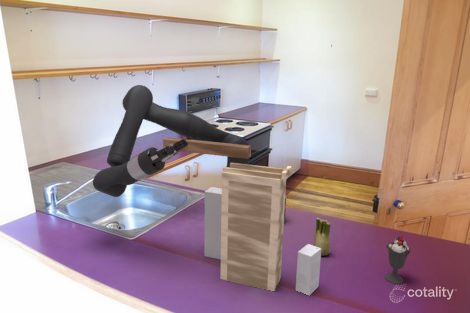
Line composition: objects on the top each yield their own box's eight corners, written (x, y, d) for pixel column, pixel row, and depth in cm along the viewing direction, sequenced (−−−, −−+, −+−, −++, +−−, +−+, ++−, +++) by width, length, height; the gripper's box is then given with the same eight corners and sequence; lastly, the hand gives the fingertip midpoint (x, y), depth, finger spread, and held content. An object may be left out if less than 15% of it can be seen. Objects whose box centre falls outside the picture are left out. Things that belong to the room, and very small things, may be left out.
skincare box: (305, 281, 102) (308, 243, 99) (318, 287, 99) (322, 248, 97) (294, 290, 97) (297, 251, 95) (308, 297, 95) (311, 256, 92)
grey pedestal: (211, 249, 119) (211, 186, 114) (233, 253, 116) (234, 190, 111) (204, 256, 115) (204, 191, 110) (227, 261, 112) (228, 195, 107)
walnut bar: (168, 147, 106) (168, 137, 105) (250, 156, 97) (251, 145, 96) (163, 149, 103) (162, 139, 103) (247, 158, 94) (247, 147, 94)
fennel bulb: (311, 249, 121) (314, 216, 118) (325, 249, 121) (328, 216, 118) (317, 258, 115) (319, 223, 112) (331, 257, 115) (334, 223, 113)
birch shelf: (229, 267, 108) (231, 159, 101) (284, 279, 102) (291, 166, 95) (220, 278, 102) (221, 165, 94) (278, 293, 96) (285, 172, 88)
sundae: (395, 287, 100) (402, 239, 96) (377, 275, 106) (383, 229, 102) (412, 282, 102) (419, 235, 99) (393, 271, 108) (399, 225, 105)
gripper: (125, 158, 102) (170, 132, 95) (153, 148, 115) (194, 125, 108) (137, 181, 102) (182, 157, 95) (163, 169, 115) (205, 147, 108)
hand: (188, 140), depth 101 cm, fingers closed on walnut bar, 3 cm apart
